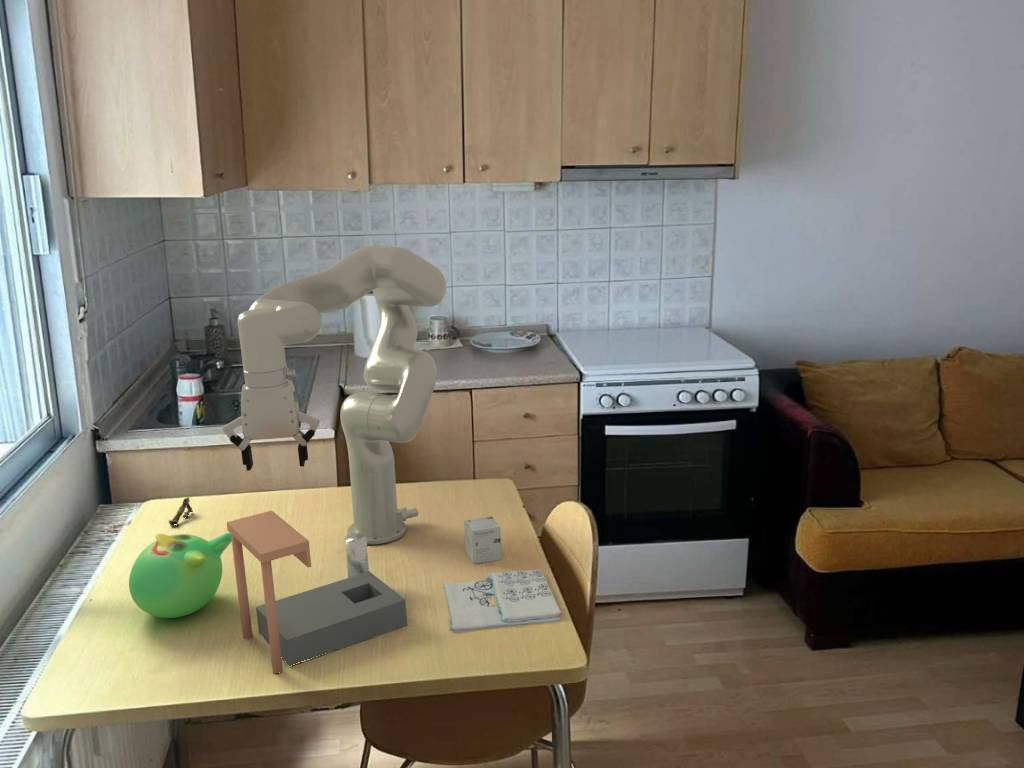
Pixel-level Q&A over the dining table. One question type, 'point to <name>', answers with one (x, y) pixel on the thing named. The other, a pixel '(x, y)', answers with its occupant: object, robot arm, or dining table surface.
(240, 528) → the canopy
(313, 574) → the dining table surface
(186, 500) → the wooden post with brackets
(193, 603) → the toy bird
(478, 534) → the skincare box
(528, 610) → the folded cloth
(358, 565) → the metal peg
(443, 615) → the dining table surface
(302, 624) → the socket plate
